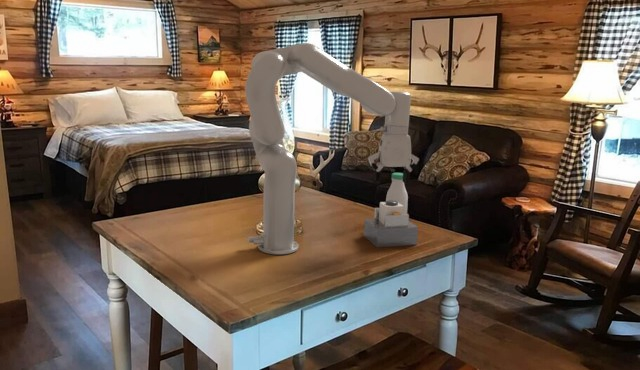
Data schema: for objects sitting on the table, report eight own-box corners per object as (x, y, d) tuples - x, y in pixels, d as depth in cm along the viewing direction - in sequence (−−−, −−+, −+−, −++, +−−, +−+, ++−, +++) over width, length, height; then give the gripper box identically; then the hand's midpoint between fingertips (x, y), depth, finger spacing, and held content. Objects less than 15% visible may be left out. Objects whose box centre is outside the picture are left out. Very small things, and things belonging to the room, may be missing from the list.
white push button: (385, 226, 178) (386, 204, 177) (378, 220, 184) (380, 199, 183) (402, 225, 180) (404, 203, 178) (395, 219, 186) (396, 199, 184)
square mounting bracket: (376, 247, 176) (378, 215, 174) (363, 235, 187) (365, 205, 185) (422, 244, 180) (424, 213, 178) (407, 233, 192) (409, 203, 189)
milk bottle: (405, 232, 192) (409, 176, 188) (383, 230, 194) (386, 175, 189) (406, 226, 200) (410, 172, 195) (385, 224, 201) (388, 170, 197)
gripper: (375, 131, 169) (370, 185, 173) (426, 132, 174) (421, 185, 178) (366, 128, 177) (362, 180, 180) (415, 129, 181) (411, 180, 185)
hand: (391, 183), depth 179 cm, fingers open, 9 cm apart
